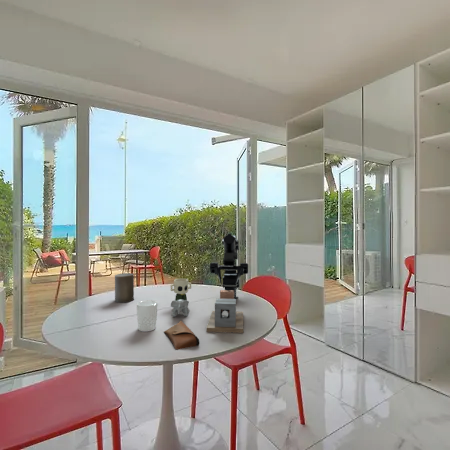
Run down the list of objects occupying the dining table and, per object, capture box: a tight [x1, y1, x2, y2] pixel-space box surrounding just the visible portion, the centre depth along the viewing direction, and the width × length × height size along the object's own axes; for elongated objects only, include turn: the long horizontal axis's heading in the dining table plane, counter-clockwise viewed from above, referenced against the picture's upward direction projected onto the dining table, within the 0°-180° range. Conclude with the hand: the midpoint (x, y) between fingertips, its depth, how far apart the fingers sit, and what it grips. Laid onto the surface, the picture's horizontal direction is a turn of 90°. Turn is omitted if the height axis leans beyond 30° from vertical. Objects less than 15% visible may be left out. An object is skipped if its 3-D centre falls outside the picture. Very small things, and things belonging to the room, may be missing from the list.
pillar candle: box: [114, 272, 135, 303], centre depth 150 cm, size 10×10×15 cm
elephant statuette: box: [170, 299, 190, 318], centre depth 124 cm, size 9×12×8 cm
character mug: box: [170, 278, 192, 301], centre depth 140 cm, size 11×7×13 cm, turn 119°
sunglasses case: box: [163, 320, 200, 351], centre depth 101 cm, size 18×7×7 cm
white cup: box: [136, 299, 158, 333], centre depth 110 cm, size 8×8×10 cm
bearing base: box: [205, 298, 244, 334], centre depth 117 cm, size 21×14×10 cm, turn 176°
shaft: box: [219, 289, 234, 318], centre depth 115 cm, size 17×6×10 cm, turn 176°
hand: (228, 282), depth 132 cm, fingers open, 7 cm apart
